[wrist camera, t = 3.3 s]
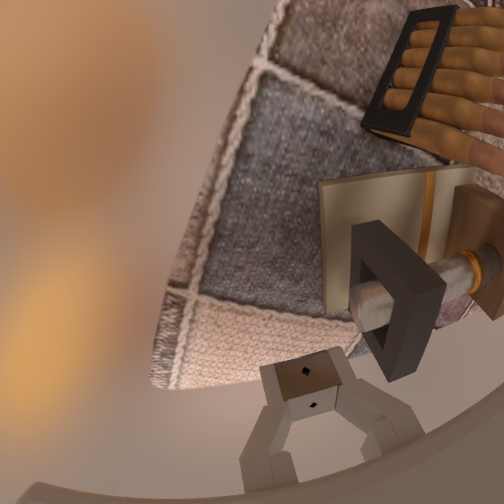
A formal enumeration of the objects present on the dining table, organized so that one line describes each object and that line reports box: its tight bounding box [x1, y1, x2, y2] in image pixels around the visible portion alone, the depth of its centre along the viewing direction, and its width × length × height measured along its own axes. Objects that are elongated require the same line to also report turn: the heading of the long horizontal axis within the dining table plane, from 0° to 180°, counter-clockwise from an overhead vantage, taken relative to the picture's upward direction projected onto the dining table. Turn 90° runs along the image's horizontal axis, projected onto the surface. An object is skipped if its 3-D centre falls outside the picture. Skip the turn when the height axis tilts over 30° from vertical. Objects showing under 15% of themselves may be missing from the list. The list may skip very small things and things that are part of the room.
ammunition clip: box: [361, 5, 504, 176], centre depth 10 cm, size 11×2×12 cm, turn 157°
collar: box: [348, 220, 447, 382], centre depth 16 cm, size 2×7×7 cm, turn 9°
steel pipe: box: [349, 244, 502, 333], centre depth 16 cm, size 14×3×3 cm, turn 99°
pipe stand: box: [318, 164, 504, 321], centre depth 18 cm, size 15×11×9 cm
